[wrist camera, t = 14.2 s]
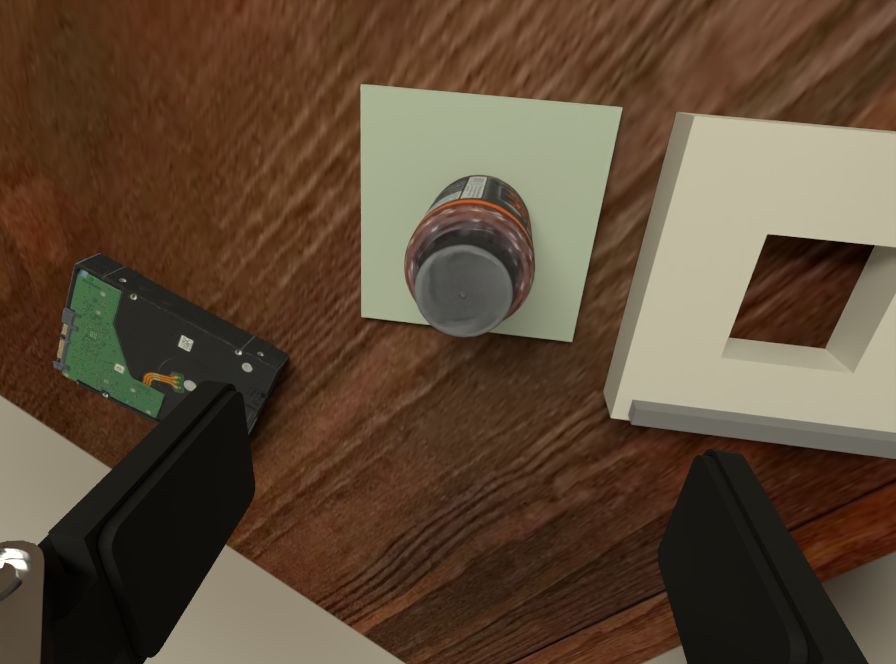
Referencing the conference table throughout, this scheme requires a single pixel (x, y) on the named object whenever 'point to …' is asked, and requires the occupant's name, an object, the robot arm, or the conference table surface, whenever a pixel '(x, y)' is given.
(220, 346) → the disk drive
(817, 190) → the dispenser block
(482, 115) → the sage mat
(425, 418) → the conference table surface
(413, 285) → the supplement bottle
